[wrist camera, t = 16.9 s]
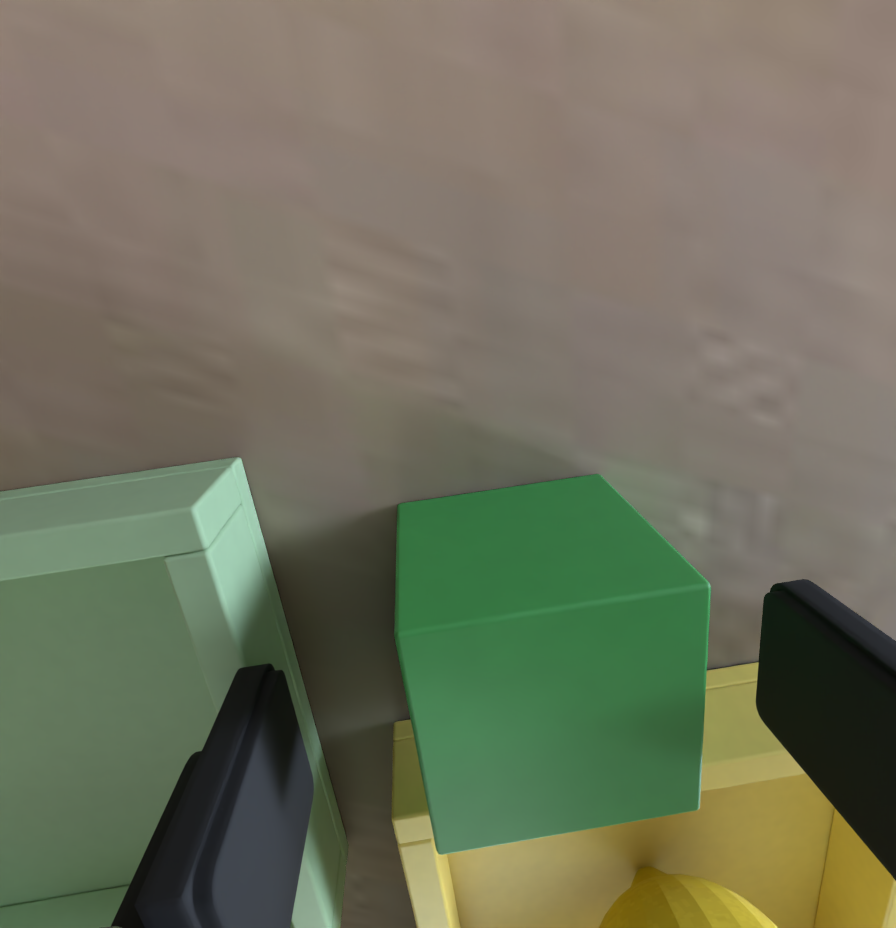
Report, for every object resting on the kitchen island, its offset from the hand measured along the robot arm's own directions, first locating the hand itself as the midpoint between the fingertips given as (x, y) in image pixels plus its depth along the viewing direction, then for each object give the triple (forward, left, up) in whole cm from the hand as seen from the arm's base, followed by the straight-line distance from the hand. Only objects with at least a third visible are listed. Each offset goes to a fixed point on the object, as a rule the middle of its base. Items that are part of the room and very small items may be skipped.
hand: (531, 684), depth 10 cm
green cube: (-1, 0, -3) cm, 3 cm away
